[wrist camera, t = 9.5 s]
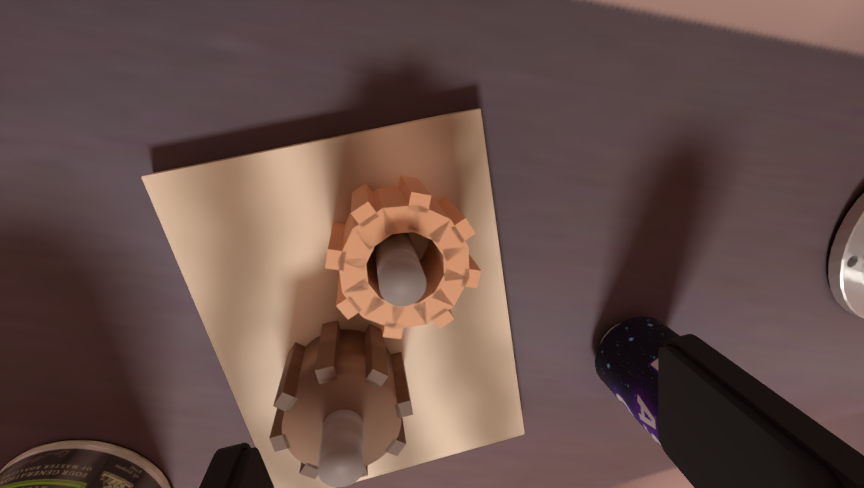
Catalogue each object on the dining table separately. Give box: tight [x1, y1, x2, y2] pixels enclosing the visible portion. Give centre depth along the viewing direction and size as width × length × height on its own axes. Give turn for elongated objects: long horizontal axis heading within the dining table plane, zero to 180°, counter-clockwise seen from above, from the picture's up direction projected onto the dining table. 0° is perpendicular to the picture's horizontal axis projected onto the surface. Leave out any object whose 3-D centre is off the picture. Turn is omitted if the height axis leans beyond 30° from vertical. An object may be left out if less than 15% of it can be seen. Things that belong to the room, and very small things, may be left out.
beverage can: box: [595, 317, 680, 449], centre depth 24 cm, size 6×6×12 cm
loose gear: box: [325, 175, 481, 339], centre depth 21 cm, size 7×7×4 cm
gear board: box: [142, 108, 524, 488], centre depth 22 cm, size 17×22×8 cm
